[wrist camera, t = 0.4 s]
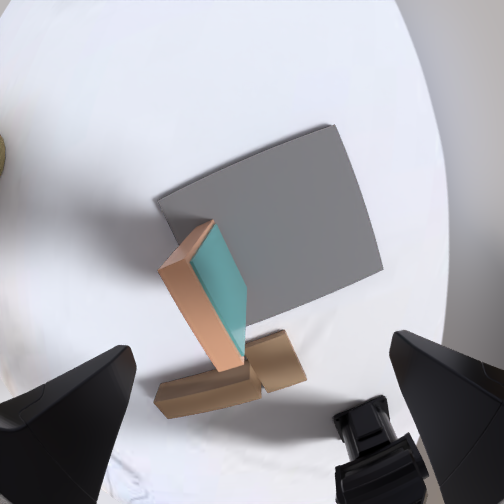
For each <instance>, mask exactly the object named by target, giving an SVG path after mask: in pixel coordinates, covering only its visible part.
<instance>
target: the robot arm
mask: <svg viewBox="0 0 504 504" xmlns="http://www.w3.org/2000/svg"><path fill="white" fill-rule="evenodd" d="M389 356H390V360H391V363H392V366H393V369H394V372H395V375H396V378H397V381H398V384H399V387H400V390H401V392H402V395H403V397H404V399H405V401H406V404H407V406H408V408H409V410H410V413H411V415H412V417H413V420H414V422H415V424H416V427H417V429H418V432H419V434H420V436H421V439H422V441H423V444H424V446H425V449H426V451H427V454H428V457H429V459H430V462H431V465H432V467H433V470H434V473H435V476H436V478H437V481H438V484H439V486H440V491H441V493H442V497H443V500H444V503H445V504H504V370H502V369H499V368H496V367H494V366H491V365H489V364H486V363H484V362H481V361H479V360H476V359H474V358H471V357H469V356H466V355H464V354H462V353H459V352H457V351H454V350H452V349H449V348H447V347H445V346H442V345H440V344H438V343H435V342H433V341H430V340H428V339H426V338H423V337H421V336H418V335H416V334H414V333H411V332H409V331H407V330H401V331H396V332H394V334H393V337H392V341H391V346H390V351H389ZM135 374H136V362H135V359H134V356H133V353H132V350H131V348H130V347H129V346H128V345H117V346H115V347H114V348H112V349H110V350H108V351H106V352H104V353H102V354H100V355H98V356H97V357H95V358H93V359H91V360H89V361H87V362H85V363H83V364H81V365H80V366H78V367H76V368H74V369H72V370H70V371H68V372H66V373H64V374H62V375H60V376H58V377H56V378H55V379H53V380H51V381H49V382H47V383H46V384H43V385H41V386H39V387H37V388H35V389H33V390H31V391H29V392H27V393H24V394H22V395H20V396H17V397H15V398H12V399H10V400H8V401H5V402H2V403H0V504H97V500H98V496H99V492H100V489H101V485H102V482H103V479H104V475H105V472H106V469H107V466H108V462H109V459H110V456H111V453H112V450H113V447H114V444H115V441H116V438H117V435H118V432H119V429H120V426H121V423H122V420H123V417H124V415H125V412H126V409H127V406H128V403H129V399H130V394H131V390H132V386H133V382H134V378H135ZM333 421H334V423H335V426H336V428H337V430H338V433H339V435H340V437H341V440H342V442H343V443H345V445H346V448H347V452H348V455H349V459H350V462H348V463H346V464H343V465H339V466H336V467H335V470H336V472H335V482H336V499H335V500H336V503H337V504H426V500H427V497H428V494H427V489H426V485H425V483H424V481H423V479H426V478H427V477H429V474H428V471H427V468H426V466H425V463H424V461H423V459H422V457H421V455H420V453H419V451H418V449H417V447H416V445H415V443H414V441H413V439H412V437H411V435H410V433H409V432H408V433H407V434H405V435H404V436H403V437H401V438H399V439H398V438H397V436H396V434H395V432H394V430H393V427H392V425H391V423H390V417H389V411H388V404H387V399H386V397H385V396H381V397H379V398H377V399H374V400H372V401H370V402H368V403H365V404H363V405H361V406H358V407H356V408H353V409H351V410H348V411H346V412H343V413H341V414H338V415H335V416H334V417H333Z"/></svg>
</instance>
